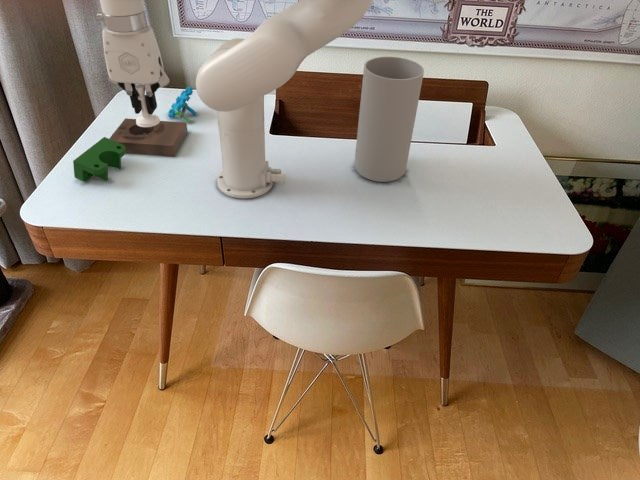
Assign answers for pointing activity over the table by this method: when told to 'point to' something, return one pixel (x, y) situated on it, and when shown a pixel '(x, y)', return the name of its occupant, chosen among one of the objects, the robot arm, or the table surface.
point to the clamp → (98, 160)
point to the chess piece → (145, 110)
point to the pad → (151, 137)
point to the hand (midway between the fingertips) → (145, 110)
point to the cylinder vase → (387, 117)
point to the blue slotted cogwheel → (182, 105)
